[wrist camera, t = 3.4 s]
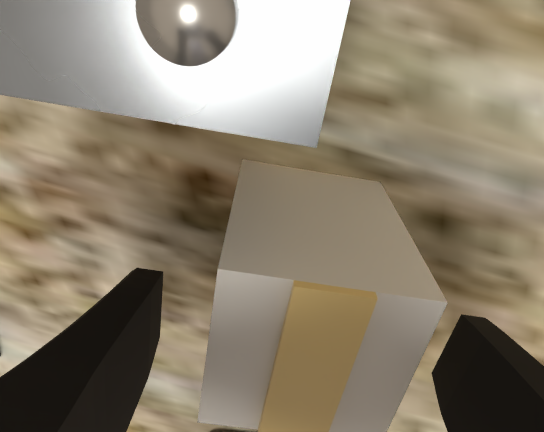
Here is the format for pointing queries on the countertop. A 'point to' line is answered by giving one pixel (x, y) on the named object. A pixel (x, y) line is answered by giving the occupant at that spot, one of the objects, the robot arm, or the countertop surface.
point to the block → (315, 306)
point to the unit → (179, 60)
